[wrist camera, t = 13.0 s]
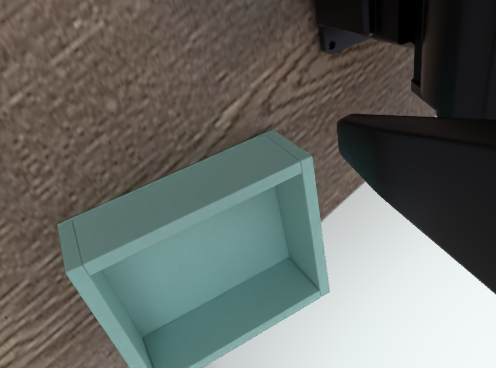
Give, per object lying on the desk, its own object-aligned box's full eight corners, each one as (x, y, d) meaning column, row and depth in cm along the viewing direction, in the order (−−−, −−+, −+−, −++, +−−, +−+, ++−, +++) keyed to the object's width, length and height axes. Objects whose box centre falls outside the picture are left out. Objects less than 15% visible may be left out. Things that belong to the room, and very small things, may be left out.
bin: (273, 128, 25) (312, 155, 22) (297, 256, 32) (330, 292, 29) (57, 224, 22) (65, 273, 18) (134, 346, 28) (150, 398, 25)
